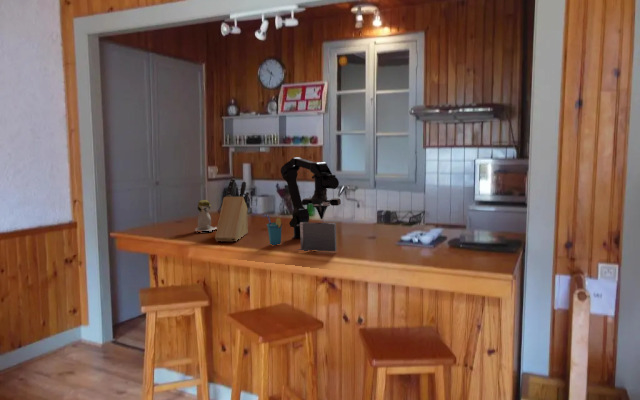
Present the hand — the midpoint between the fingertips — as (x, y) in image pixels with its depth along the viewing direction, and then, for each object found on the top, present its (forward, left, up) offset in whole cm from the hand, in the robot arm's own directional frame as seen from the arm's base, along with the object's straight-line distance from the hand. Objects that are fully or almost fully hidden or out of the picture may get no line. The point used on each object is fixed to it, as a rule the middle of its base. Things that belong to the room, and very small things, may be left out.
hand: (321, 219), depth 239 cm
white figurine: (-31, -73, -12) cm, 80 cm away
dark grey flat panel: (+20, +1, -11) cm, 23 cm away
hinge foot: (+19, -7, -12) cm, 23 cm away
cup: (+4, -24, -12) cm, 27 cm away
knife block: (-16, -51, -12) cm, 55 cm away
